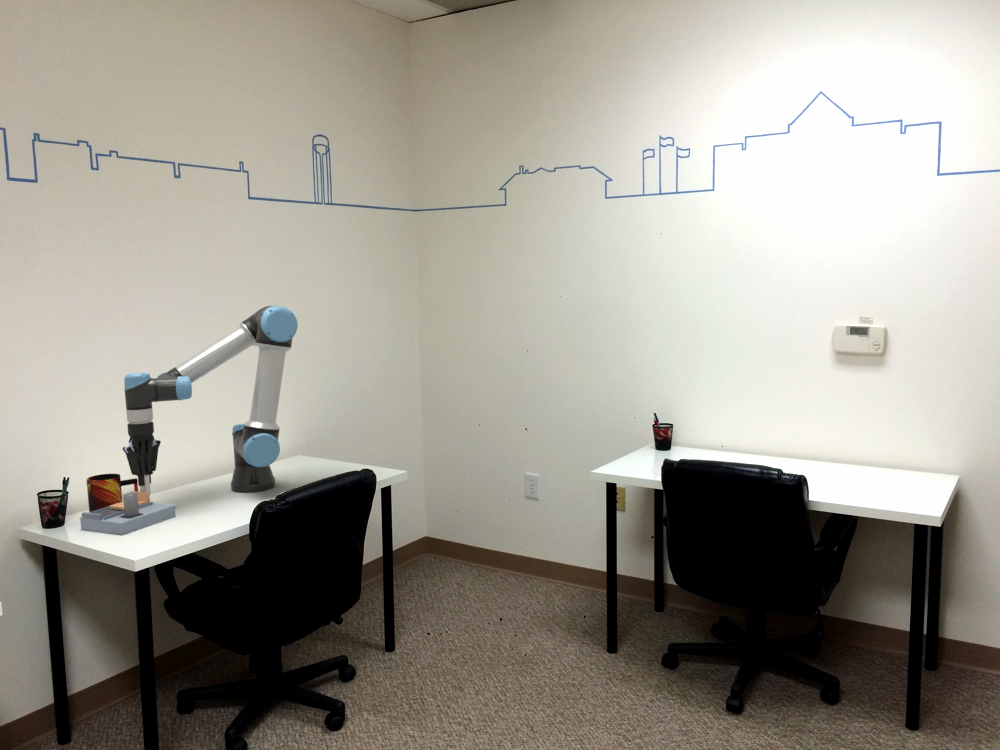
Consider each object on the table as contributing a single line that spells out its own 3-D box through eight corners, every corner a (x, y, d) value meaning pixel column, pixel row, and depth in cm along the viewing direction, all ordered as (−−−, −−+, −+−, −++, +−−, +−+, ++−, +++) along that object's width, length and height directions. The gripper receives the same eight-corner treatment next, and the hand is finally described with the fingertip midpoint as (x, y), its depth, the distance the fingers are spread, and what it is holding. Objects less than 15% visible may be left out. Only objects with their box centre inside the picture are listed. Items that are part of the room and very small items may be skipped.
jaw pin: (133, 524, 241) (130, 492, 240) (143, 525, 239) (140, 493, 238) (122, 528, 237) (119, 495, 236) (132, 529, 236) (129, 496, 234)
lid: (133, 500, 253) (132, 491, 253) (150, 502, 250) (149, 492, 250) (109, 508, 245) (108, 498, 245) (126, 510, 242) (125, 500, 242)
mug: (141, 508, 259) (138, 472, 258) (103, 519, 247) (100, 481, 246) (120, 505, 263) (117, 469, 262) (82, 516, 251) (79, 479, 250)
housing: (136, 511, 255) (134, 495, 255) (175, 516, 248) (174, 500, 248) (81, 529, 237) (79, 512, 237) (122, 535, 230) (120, 517, 230)
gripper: (148, 418, 258) (153, 489, 261) (114, 424, 246) (120, 499, 249) (165, 419, 255) (170, 491, 258) (131, 425, 243) (137, 501, 246)
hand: (145, 495), depth 253 cm, fingers closed
